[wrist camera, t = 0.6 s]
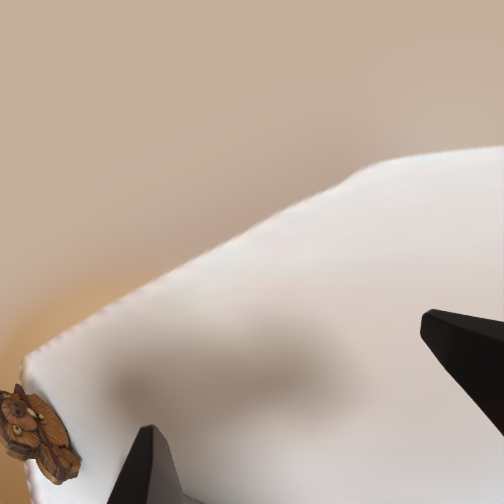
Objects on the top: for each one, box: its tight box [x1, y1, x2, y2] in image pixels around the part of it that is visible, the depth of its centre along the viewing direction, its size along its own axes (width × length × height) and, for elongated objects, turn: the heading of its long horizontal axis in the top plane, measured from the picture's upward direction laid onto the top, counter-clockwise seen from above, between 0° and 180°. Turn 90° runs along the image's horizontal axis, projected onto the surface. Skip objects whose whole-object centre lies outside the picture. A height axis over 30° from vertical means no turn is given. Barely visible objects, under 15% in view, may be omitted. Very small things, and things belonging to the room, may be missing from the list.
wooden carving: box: [0, 384, 81, 485], centre depth 24 cm, size 16×5×10 cm, turn 62°
